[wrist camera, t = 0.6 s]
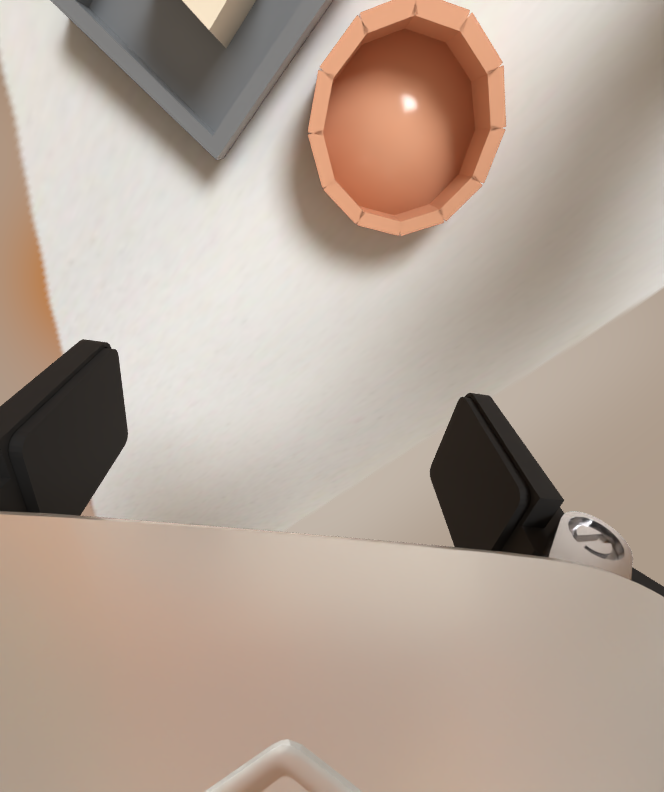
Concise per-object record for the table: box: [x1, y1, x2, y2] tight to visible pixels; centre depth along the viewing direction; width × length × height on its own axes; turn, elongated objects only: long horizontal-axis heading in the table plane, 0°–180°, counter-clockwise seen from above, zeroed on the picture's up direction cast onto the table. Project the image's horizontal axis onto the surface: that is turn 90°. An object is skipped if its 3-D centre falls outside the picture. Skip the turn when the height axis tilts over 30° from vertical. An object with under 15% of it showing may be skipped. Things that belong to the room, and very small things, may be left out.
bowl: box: [308, 0, 506, 236], centre depth 28 cm, size 13×13×4 cm
